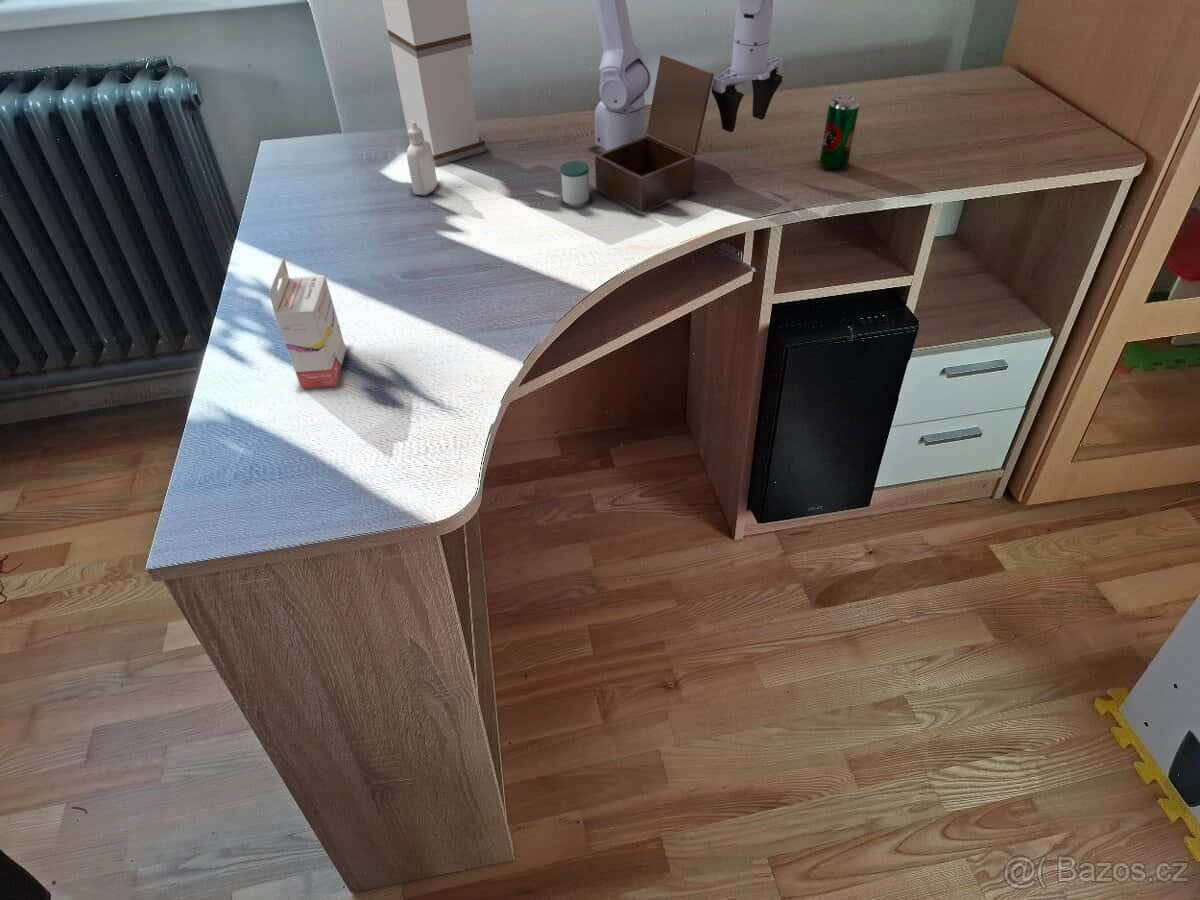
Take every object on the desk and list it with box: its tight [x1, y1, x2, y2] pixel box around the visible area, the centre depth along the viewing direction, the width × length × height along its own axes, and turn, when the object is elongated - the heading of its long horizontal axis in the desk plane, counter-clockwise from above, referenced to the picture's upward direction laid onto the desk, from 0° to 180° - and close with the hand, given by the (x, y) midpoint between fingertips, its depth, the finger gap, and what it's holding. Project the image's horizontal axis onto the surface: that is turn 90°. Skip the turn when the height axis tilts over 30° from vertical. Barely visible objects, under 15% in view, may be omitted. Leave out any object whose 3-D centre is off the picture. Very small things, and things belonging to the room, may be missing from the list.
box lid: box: [645, 54, 715, 156], centre depth 137 cm, size 13×12×1 cm
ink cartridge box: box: [269, 258, 347, 389], centre depth 104 cm, size 9×5×15 cm, turn 5°
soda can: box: [819, 93, 860, 171], centre depth 144 cm, size 5×5×12 cm
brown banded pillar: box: [381, 0, 487, 167], centre depth 146 cm, size 11×11×35 cm
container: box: [559, 160, 590, 205], centre depth 139 cm, size 5×5×6 cm
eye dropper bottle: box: [406, 121, 438, 196], centre depth 141 cm, size 4×6×12 cm
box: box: [594, 135, 695, 213], centre depth 140 cm, size 12×12×6 cm
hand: (743, 123), depth 141 cm, fingers open, 7 cm apart
